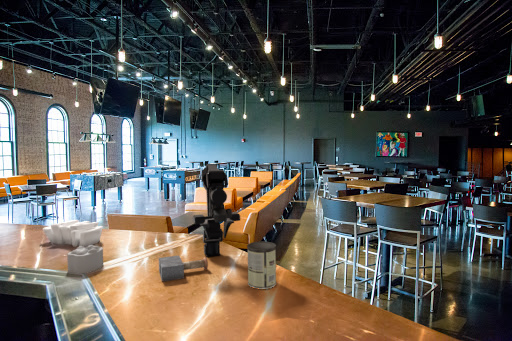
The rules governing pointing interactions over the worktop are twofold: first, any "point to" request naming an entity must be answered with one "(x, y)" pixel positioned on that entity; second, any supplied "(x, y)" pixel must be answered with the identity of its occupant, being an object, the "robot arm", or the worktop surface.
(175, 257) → the block
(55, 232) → the wavy white extrusion
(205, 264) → the pin
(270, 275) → the coffee can
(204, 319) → the worktop surface
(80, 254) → the lumpy-topped squat cylinder
